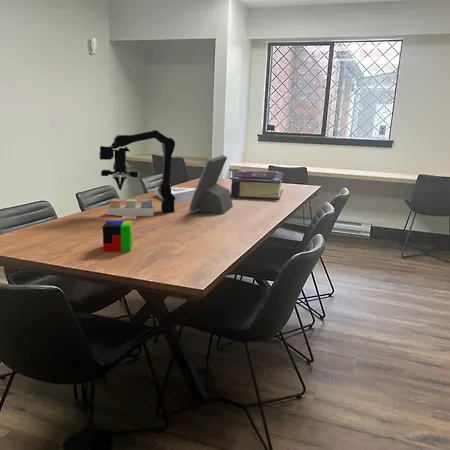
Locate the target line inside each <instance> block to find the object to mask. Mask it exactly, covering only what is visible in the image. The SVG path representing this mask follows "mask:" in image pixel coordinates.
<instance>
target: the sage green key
mask: <svg viewBox="0 0 450 450" xmlns="http://www.w3.org/2000/svg"><path fill="white" fill-rule="evenodd" d="M137 201H138V200H137V199H129V198H126V200H125V206H126V208H136V207H137V206H138V205H137V204H138V202H137Z"/></svg>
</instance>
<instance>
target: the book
mask: <svg viewBox="0 0 450 450" xmlns="http://www.w3.org/2000/svg"><path fill="white" fill-rule="evenodd" d="M284 174H285V173H284V172H268V171H267V172H263V171H262V172H261V171H248V170H246V171H245V170H241V171H239V172H237V173H236V174H235V175H234V176H233V177H232V178H231V188H230V189H231V192H230V195H231V198H235V199H237V198H238V199H252V200H253V199H254V200H255V199H258V200H272V201H273V200H276V201H280V200H281V196H282V193H283V187H282V183H283V182H282V180H283V178H284V176H285V175H284Z"/></svg>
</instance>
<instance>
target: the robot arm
mask: <svg viewBox="0 0 450 450" xmlns="http://www.w3.org/2000/svg"><path fill="white" fill-rule="evenodd" d="M152 139H155V140H157V141H158V142H159V143H160V144H161V149H162V154H163V157H162V170H161V171H162V172H161V173H162V175H161V181H160V183H157V187H158V190H157V191H158V193H159V195H160V196H162V198H161V199H162V201H161V204H160V205H161V212H162V213H175V203H174V201H175V197H174V196H173V195H172V194H171V188H172V187H171V182H170V179H171V167H172V156H173V153H174V150H175V146H176V141H175V139H173V137H172V138H171V137H168V136H165V134H162V133H161V132H160V131H158V130H156V129H153V130H150V131H144V132H140V133H135V134H118V135H116V136H115V137H114V139H113V142H112V144H111V145H110V146H104V145H100V147H99V153H98V154H99V156H98V157H99V160H101V161H102V160H104V161H106V160H107V161H111V160H112V159H113V158H114V163H113V167H112V169H113V170H114V171H113V170H112V171H111V169H102V170H101V171H100V176H102V177H107V176H112V177H111V178H112V179H114V181H115V182H116V185H117V188H118V190H119V191H122V188H123V186H124V182H125V180H126V179H128V178H129V176H130V177H131V178H139V176H140V173H139V170H130V171H128V166H127V152H130V149H129V148H128V147H127V146H129V145H131V144H132V143H133V144H134V143H136V142H142V141H147V140H152Z"/></svg>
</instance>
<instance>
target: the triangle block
mask: <svg viewBox="0 0 450 450" xmlns="http://www.w3.org/2000/svg"><path fill="white" fill-rule="evenodd" d="M157 190H158V186H155V196H156V195H157V196H159V197H158V198H160V197H161V198H160V199H162V196H160V195H159V193H158V191H157ZM195 190H196V188H195V187H194V188H193V187H171V194H172V195H173V196H174V197H175V201H174V204H177V203H178V202H179V203H182V202H186V201H192V200H191V199H192V198H193V195H194V192H195ZM157 196H156V197H157Z"/></svg>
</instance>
